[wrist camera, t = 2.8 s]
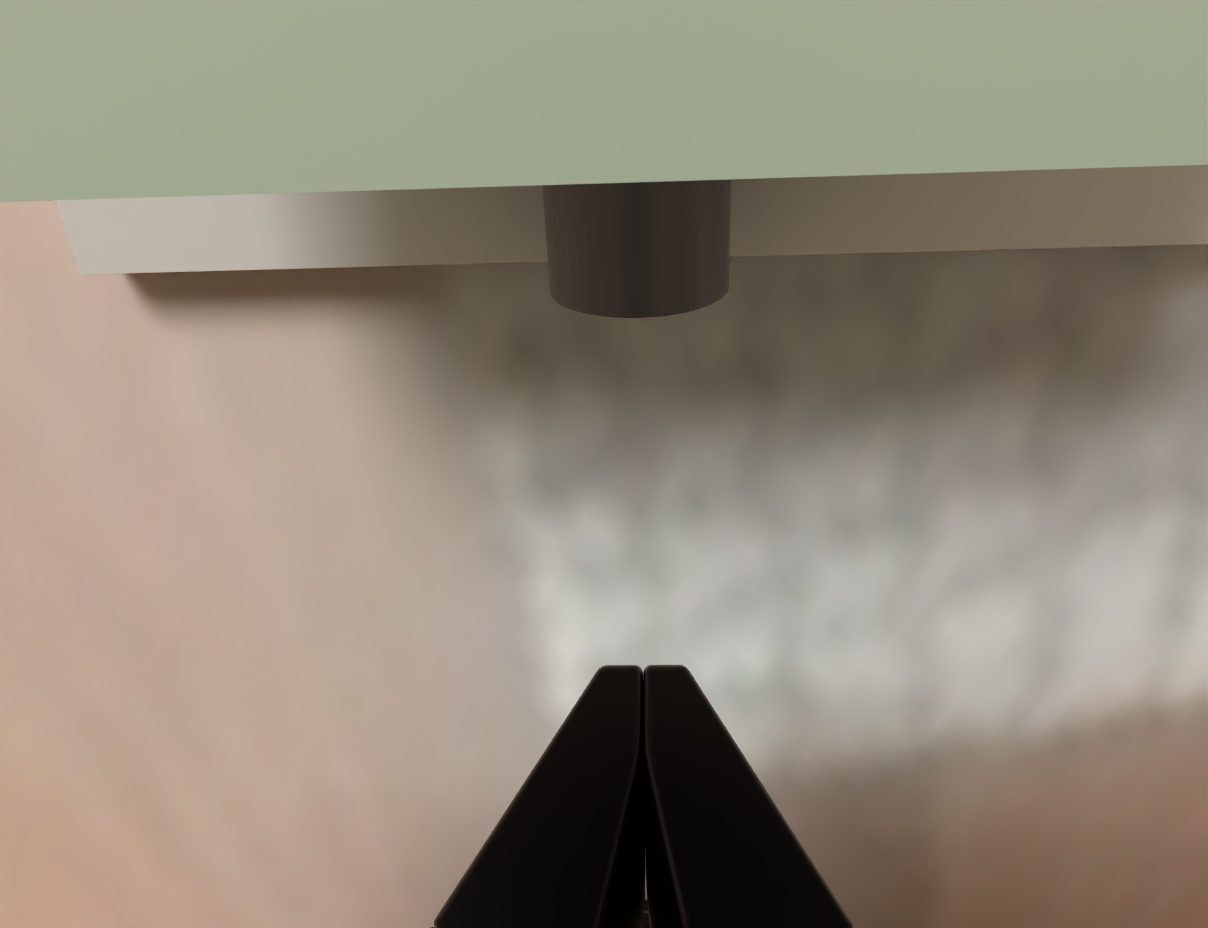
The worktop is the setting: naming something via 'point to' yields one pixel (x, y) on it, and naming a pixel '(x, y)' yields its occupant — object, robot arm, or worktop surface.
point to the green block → (583, 91)
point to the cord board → (642, 226)
